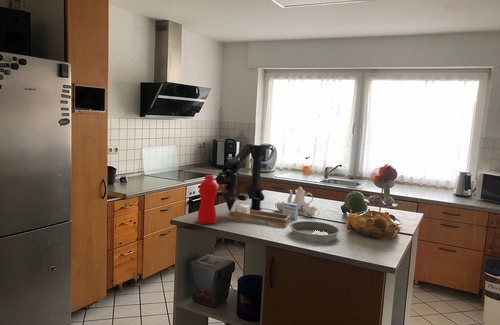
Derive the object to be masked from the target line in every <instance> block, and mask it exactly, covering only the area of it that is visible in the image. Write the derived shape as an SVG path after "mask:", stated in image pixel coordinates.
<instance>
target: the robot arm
mask: <svg viewBox="0 0 500 325" xmlns="http://www.w3.org/2000/svg"><path fill="white" fill-rule="evenodd" d="M265 154H266V147H265V146H264V145H259V144H252V143H246V144H245V146H244V147H243V148H242V150H240V151H239V153H237V155H236V156H234V157H232V158H230V159H229V160H227V161H226V162H225V164H224V166H223V168H222V169H221V172H219V173H218V174H217V175H216V178H215V182H216V185H217V186H223V185H225V187H224V189H223V190H217V195H216V198H219V197H222V200H224V201H225V203H226V205H227V209H228V211H229V212H230V211H232V209H233V207H234V204H235V202H236V201H242V202H243V201H244V202H245V201H246V200H248V199H249V200H251V204H250V210H257V211H262V207H261V203H262V202H263V201H264V200H265V195H264V193H263V189H262V188H263V187H262V186H261V184H260V182H261V168H262V160H263V158H264V157H265ZM248 156H251V158H252V169H251V170H252V172H251V174H252V175H251V183H250V184H249V185H248V186H247V190H246V192H247V193H239V194H237V193H238V192H237V187H238V184H237V180H238V176H240V172H238V171H239V170H240V169H241V167H242V164H243V162H244V161H245V160H246V159H247V158H248Z"/></svg>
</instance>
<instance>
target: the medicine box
mask: <svg viewBox="0 0 500 325" xmlns="http://www.w3.org/2000/svg"><path fill="white" fill-rule="evenodd" d="M287 202H288V201H287ZM287 202H285V203H284V205H283V213H282V214H285V215H291V221H296V220H298V218H299V214H298V208H299V205H298V204H293V203H287Z"/></svg>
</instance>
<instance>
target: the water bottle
mask: <svg viewBox="0 0 500 325" xmlns="http://www.w3.org/2000/svg"><path fill="white" fill-rule="evenodd" d="M198 190H199V191H198V192H199V197H200V204H199V208H198V211H197V212H198V213H197V222H198V223H199V224H202V225H213V224H215V223H216V221H217V213H216V212H217V211H216V207H215V206H216V205H215V204H216V199H217V197H216V195H217V191H218V184H217V182H216V183H215V182H214V175H210V174H206V175H204V181H202V182H201V183H200V185H199V189H198Z"/></svg>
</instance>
